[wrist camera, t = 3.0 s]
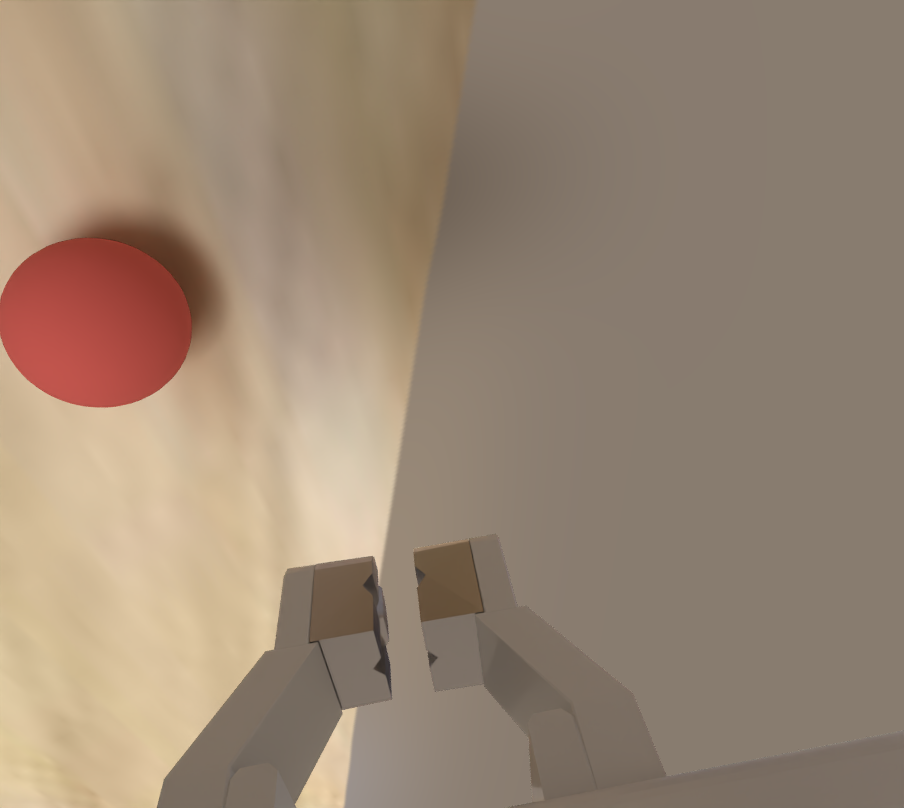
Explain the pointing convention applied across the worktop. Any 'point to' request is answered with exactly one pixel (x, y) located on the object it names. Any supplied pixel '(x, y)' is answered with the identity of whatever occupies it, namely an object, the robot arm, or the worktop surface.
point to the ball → (95, 322)
